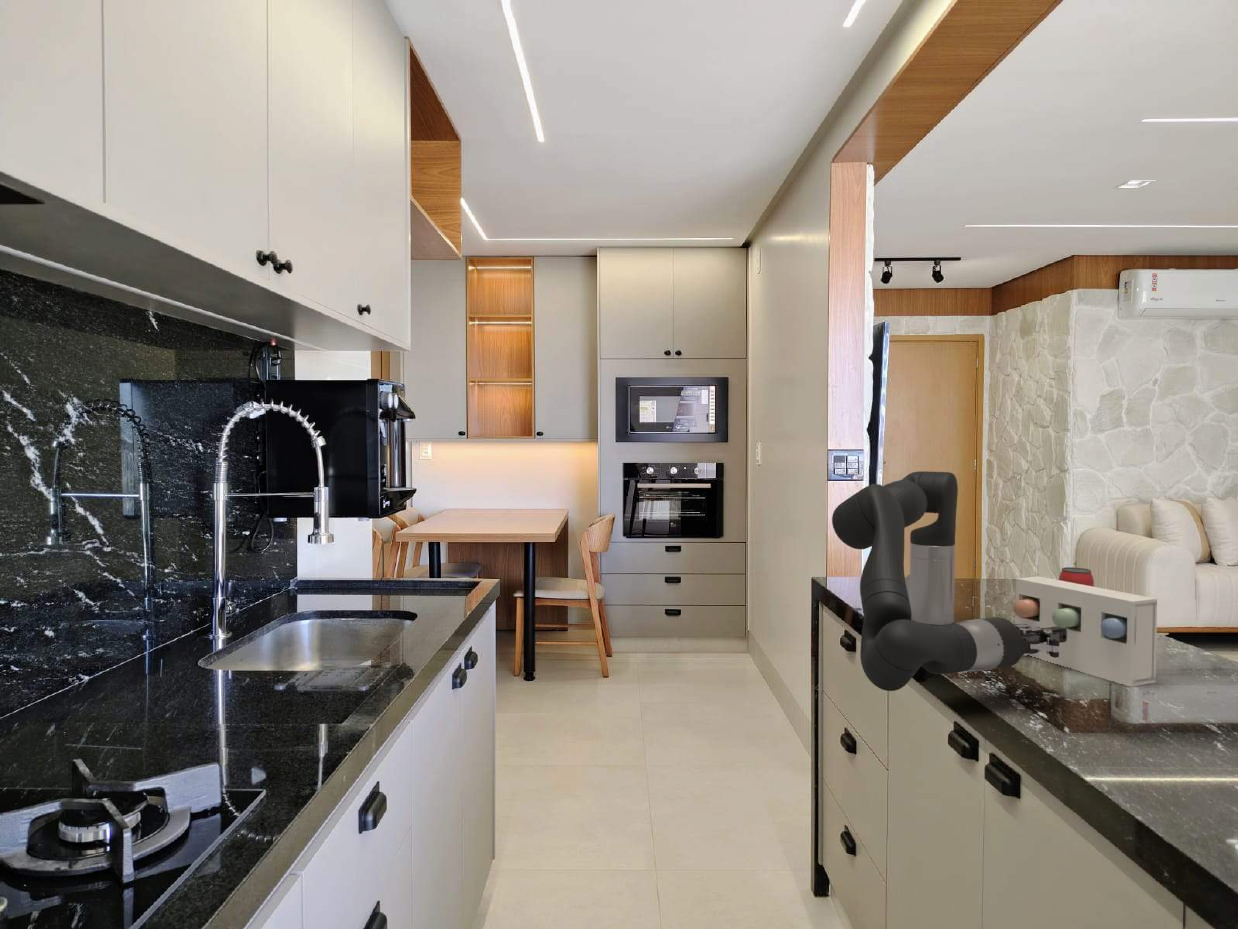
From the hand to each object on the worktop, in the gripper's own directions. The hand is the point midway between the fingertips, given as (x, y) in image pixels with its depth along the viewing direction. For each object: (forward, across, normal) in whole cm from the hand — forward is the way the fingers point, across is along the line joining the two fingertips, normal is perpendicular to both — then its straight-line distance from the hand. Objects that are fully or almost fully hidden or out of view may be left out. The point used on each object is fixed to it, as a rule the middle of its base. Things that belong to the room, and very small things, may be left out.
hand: (1062, 634), depth 120 cm
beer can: (+43, +30, +9) cm, 53 cm away
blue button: (+13, 0, +2) cm, 13 cm away
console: (+15, +8, +9) cm, 19 cm away
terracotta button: (+12, +16, +2) cm, 20 cm away
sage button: (+12, +8, +2) cm, 14 cm away
